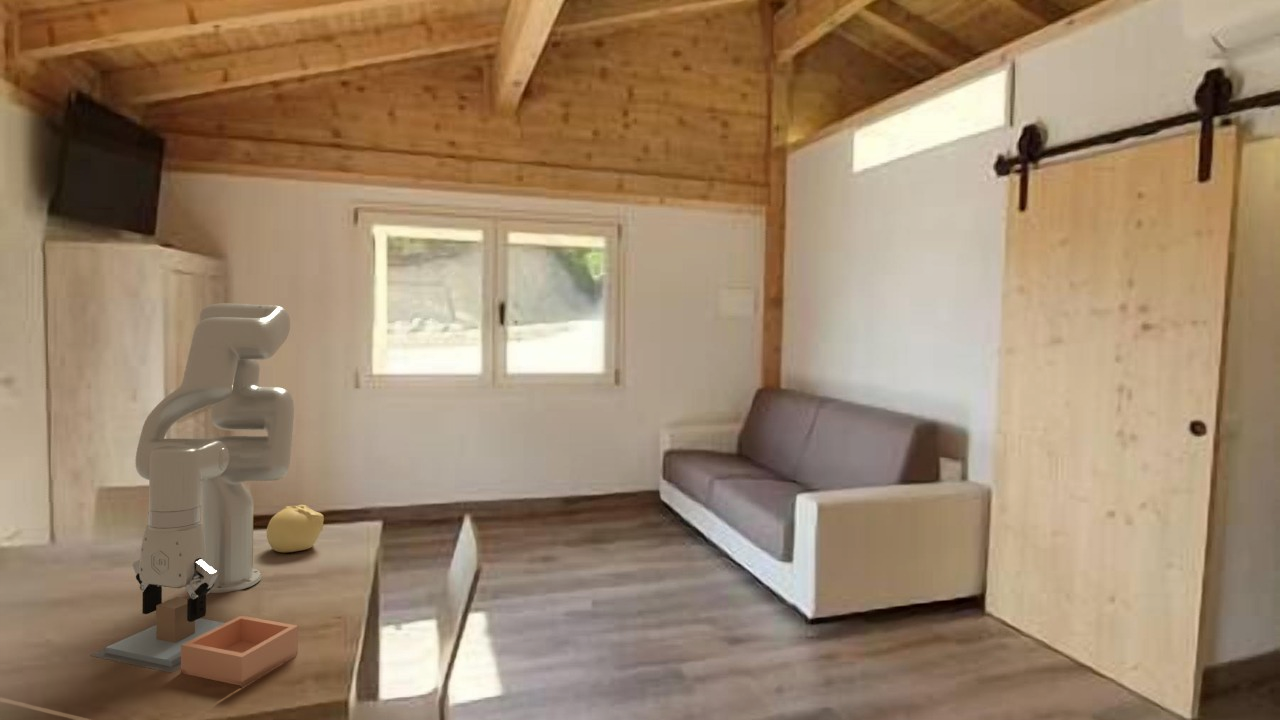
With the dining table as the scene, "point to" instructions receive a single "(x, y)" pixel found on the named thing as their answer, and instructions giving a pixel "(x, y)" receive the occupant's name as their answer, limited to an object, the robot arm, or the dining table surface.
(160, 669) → the mat
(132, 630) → the dining table surface
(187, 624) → the lid
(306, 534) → the sculpture
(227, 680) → the peach open tray
